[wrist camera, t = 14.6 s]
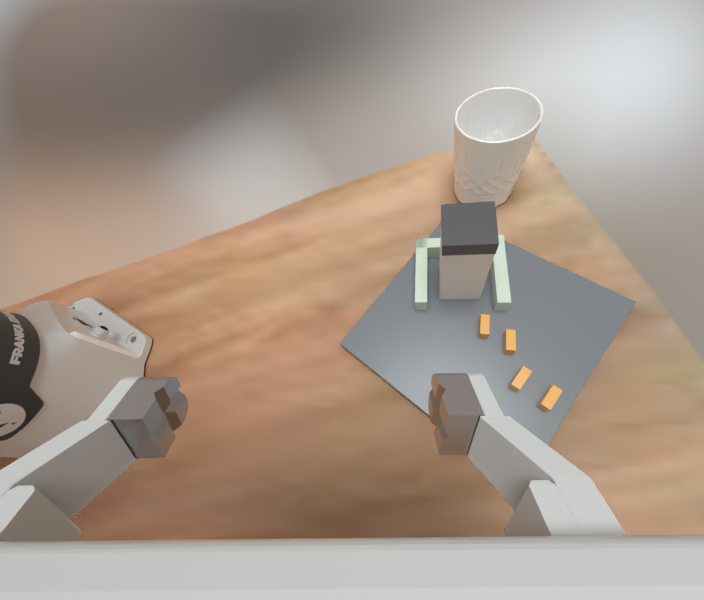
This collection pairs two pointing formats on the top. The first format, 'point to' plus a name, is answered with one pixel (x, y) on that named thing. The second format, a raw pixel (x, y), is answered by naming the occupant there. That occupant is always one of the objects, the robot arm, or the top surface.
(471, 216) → the beige container
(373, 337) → the board
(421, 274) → the end holder
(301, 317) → the top surface
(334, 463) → the top surface
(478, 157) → the white cup
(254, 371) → the top surface
